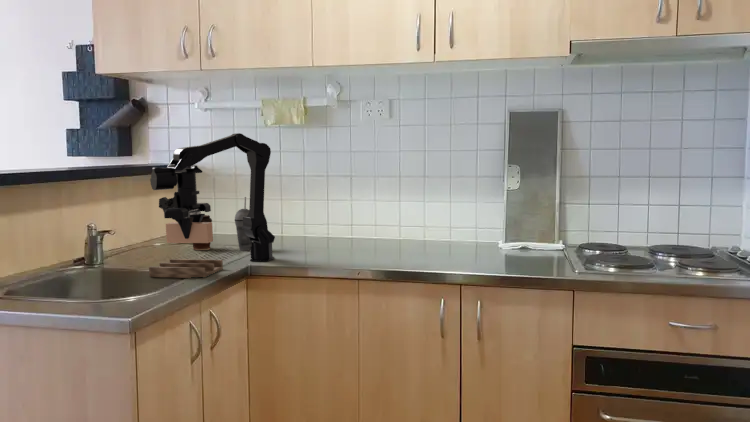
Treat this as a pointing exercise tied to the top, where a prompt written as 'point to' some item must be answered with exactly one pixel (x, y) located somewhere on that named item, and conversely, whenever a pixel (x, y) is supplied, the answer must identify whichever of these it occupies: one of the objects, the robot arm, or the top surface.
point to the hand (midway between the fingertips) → (189, 237)
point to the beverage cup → (242, 237)
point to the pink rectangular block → (198, 233)
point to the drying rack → (186, 268)
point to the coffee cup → (203, 245)
